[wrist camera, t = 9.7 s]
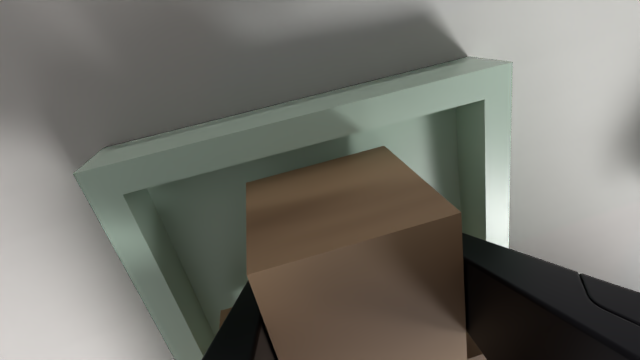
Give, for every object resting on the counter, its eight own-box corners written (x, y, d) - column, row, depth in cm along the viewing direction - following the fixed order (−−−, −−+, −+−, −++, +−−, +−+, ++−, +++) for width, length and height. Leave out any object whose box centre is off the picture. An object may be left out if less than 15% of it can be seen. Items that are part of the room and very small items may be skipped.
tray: (478, 377, 17) (505, 417, 16) (253, 452, 16) (254, 505, 15) (469, 56, 11) (512, 61, 9) (103, 147, 10) (73, 173, 8)
